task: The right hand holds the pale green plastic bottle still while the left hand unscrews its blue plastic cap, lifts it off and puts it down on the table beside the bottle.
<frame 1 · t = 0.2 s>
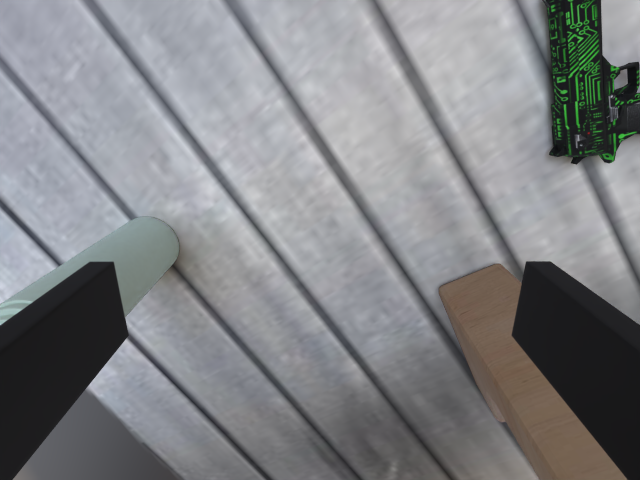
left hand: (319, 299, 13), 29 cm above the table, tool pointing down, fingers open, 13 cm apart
bottle: (150, 244, 42), on the table
decorative block: (485, 324, 46), on the table
handgun: (613, 73, 37), on the table
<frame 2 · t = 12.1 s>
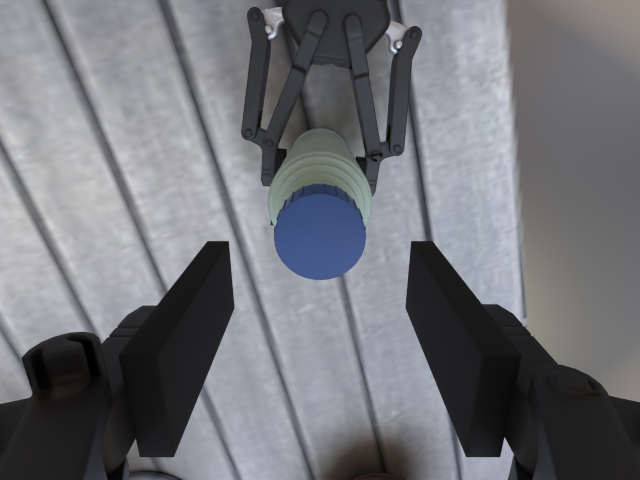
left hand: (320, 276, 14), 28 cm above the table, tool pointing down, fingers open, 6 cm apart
right hand: (314, 224, 36), fingers closed on bottle, 6 cm apart
bottle: (319, 159, 41), on the table, touching right hand
cap: (319, 236, 18), point 24 cm above the table, screwed on, not yet turned
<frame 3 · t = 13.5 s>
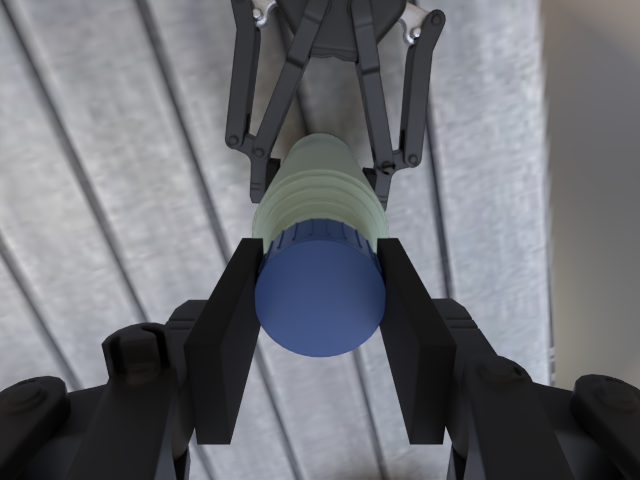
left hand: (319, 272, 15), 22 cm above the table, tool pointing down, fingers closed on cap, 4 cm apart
right hand: (313, 247, 31), fingers closed on bottle, 6 cm apart
bottle: (320, 169, 35), on the table, touching right hand
cap: (320, 297, 13), point 24 cm above the table, screwed on, not yet turned, touching left hand
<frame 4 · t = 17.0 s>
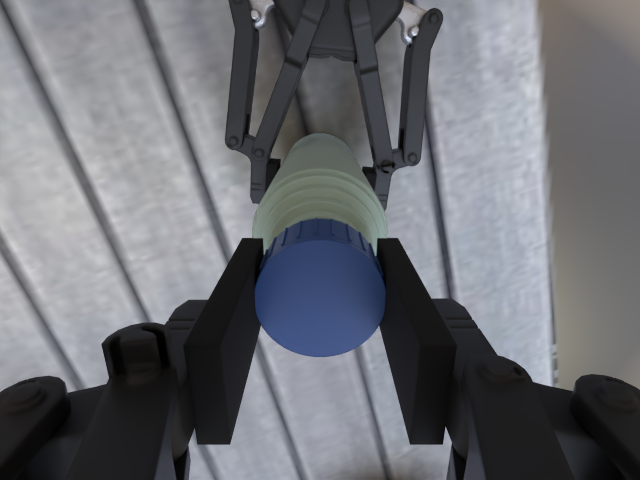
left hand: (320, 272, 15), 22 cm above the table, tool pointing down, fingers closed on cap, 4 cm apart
right hand: (314, 246, 31), fingers closed on bottle, 6 cm apart
bottle: (320, 169, 35), on the table, touching right hand
cap: (320, 297, 13), point 24 cm above the table, turned 115° so far, risen 0.1 cm, still on its thread, touching left hand
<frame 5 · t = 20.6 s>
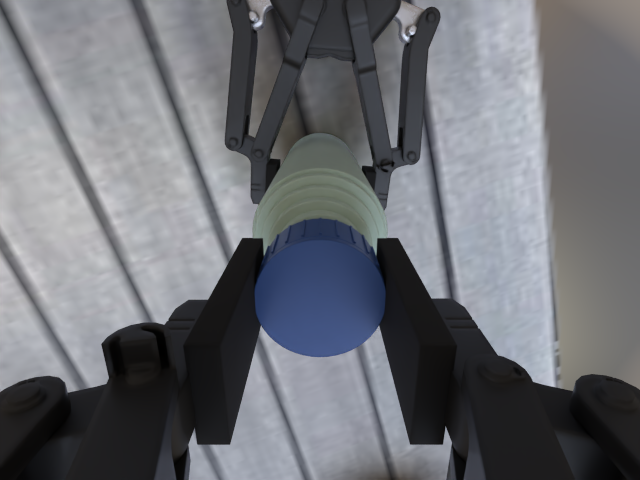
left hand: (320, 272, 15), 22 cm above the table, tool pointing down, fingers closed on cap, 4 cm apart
right hand: (315, 246, 31), fingers closed on bottle, 6 cm apart
bottle: (320, 168, 36), on the table, touching right hand
cap: (320, 297, 13), point 24 cm above the table, turned 230° so far, risen 0.2 cm, still on its thread, touching left hand
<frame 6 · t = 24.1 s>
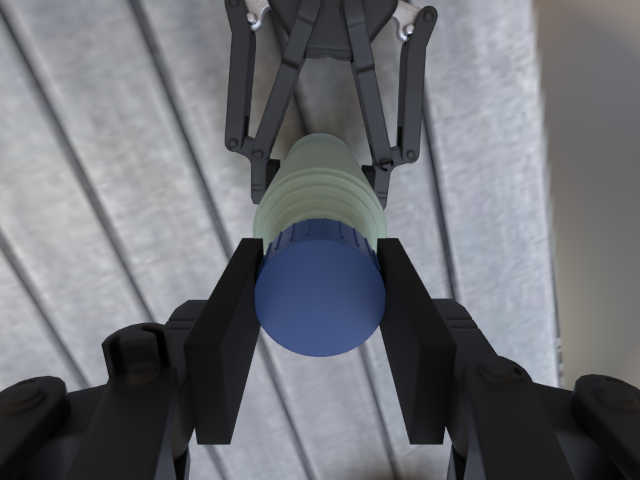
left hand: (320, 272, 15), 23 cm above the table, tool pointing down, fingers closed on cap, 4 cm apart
right hand: (315, 245, 31), fingers closed on bottle, 6 cm apart
bottle: (319, 168, 36), on the table, touching right hand
cap: (319, 297, 13), point 25 cm above the table, turned 345° so far, risen 0.4 cm, still on its thread, touching left hand
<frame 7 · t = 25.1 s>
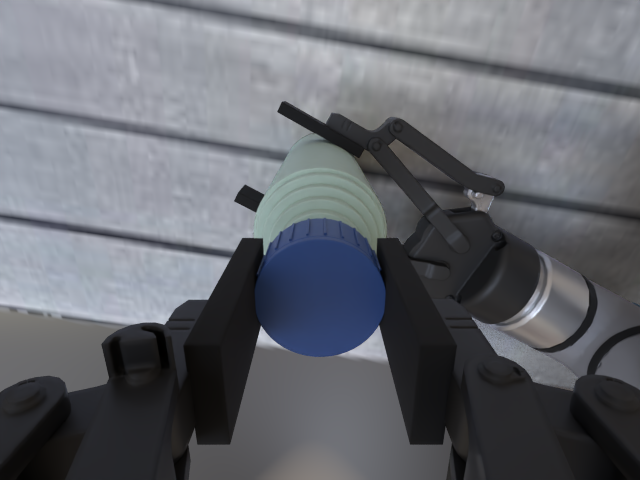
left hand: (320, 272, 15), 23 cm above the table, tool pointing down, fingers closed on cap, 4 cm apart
right hand: (260, 151, 29), fingers closed on bottle, 6 cm apart
bottle: (320, 168, 36), on the table, touching right hand
cap: (319, 297, 13), point 25 cm above the table, off its thread, touching left hand
when the left hand's fingers open (1 cm above the table, at t = 32.1 s): cap drops 1 cm, point 2 cm above the table.
when the right hand's fingers open (7 cm above the table, at t = 33.3 s): bottle stays where it is, on the table.
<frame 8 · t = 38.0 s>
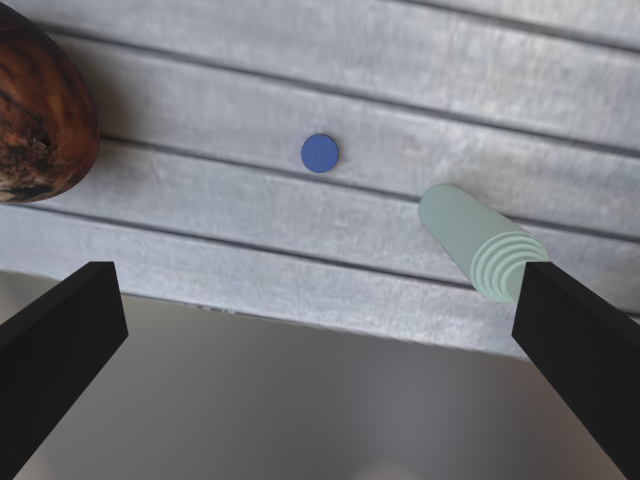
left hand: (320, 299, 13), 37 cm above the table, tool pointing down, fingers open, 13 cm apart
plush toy: (40, 98, 45), on the table
bottle: (443, 208, 50), on the table
cap: (319, 154, 45), point 2 cm above the table, off its thread
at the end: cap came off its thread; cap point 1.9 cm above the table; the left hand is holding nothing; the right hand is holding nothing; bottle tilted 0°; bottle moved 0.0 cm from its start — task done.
